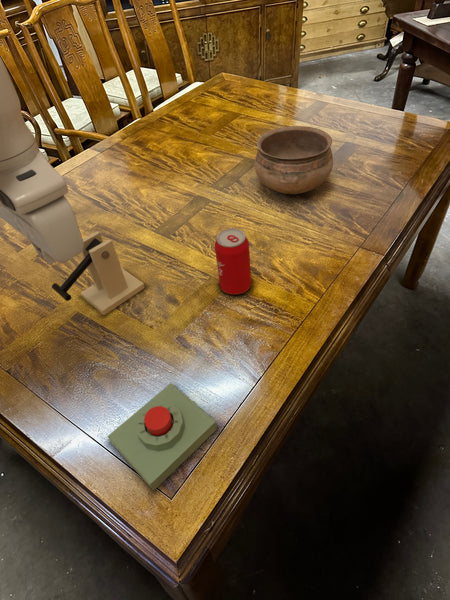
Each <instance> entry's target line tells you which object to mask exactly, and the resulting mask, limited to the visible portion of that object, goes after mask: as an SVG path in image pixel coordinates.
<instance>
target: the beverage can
mask: <svg viewBox="0 0 450 600" xmlns="http://www.w3.org/2000/svg"><path fill="white" fill-rule="evenodd" d="M214 253H215V260H216V267H217V275H218V281H219V282H218V283H219V287H220V289H221V290H222V292H224V293H226V294H229V295H240V294H244V293H246V292H247V291H248V290H249V289H250V288H251V286H252V272H251V271H252V270H251V257H250V242H249V239H248V237H247V236H246V234H245V232H244V231H243V230H241V229H239V228H226V229H223V230H221V231H220V232H219V233H218V234H217V236H216V239H215V241H214Z"/></svg>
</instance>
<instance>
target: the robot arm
mask: <svg viewBox="0 0 450 600" xmlns="http://www.w3.org/2000/svg"><path fill="white" fill-rule="evenodd" d="M68 193H69V187H68V184H67V182H66V180H65V178H64V177H63V175H62V174H60V173H59V172H58V171H57V170H56V169H55V167H54V166H52V165H51V164H50V162H49V161H48V159H46V157H45V155H44V153H43V152H42V151H41V150H40V148H39V145H38V143H37V139H36V138H35V135H34V133H33V132H32V130H31V129H30V128H29V126H28V125H27V123H26V121H25V120H24V117H23V114H22V106H21V101H20V97H19V95H18V93H17V90H16V88H15V85H14V83H13V81H12V78H11V76H10V74H9V72H8V69H7V67H6V65H5V63H4V61H3V59H2V57H1V56H0V218H1V219H2V220H3V221H4V222H6V223H7V224H8V225H9V226H11V227H12V228H13V229H15V231H18V232H19V233H20V234H21V235H22V236H24V237H25V238H26V239H27V240H28V241H29V243H30V244H31V246H32V248H34V250H35V252H36V253H37V255H38V257H39V258H41V259H42V260H43V261H45V262H46V264H48V265H53V264H55V263H58V264H65V263H67V262H69V261H71V260H73V259H74V258H76V257H78V256H79V255H82V254H81V253H82V252H83V248H84V242H83V236H82V232H81V229H80V226H79V223H78V221H77V219H76V215H75V212H74V210H73V207H72V205H71V203H70V202H69V200H68V198H67V197H66V196H65V195H66V194H68Z"/></svg>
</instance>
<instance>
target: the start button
mask: <svg viewBox="0 0 450 600" xmlns="http://www.w3.org/2000/svg"><path fill="white" fill-rule="evenodd" d="M144 422H145V425H146V427H147V430H148V431H149V433H151V434H152V435H156V436H160V435H163V434H165V433H167V432H168V431H169V430H170V428H171V426H172V418H171V415H170V413H169V411H168V410H167V409H166V408H165V407H162V406H157V407H153V408H151V409H150V410H149V411H148V412H147V413H146V415H145V418H144Z"/></svg>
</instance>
